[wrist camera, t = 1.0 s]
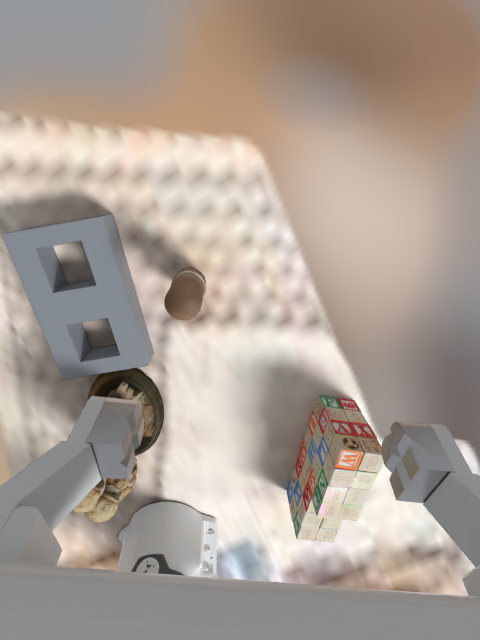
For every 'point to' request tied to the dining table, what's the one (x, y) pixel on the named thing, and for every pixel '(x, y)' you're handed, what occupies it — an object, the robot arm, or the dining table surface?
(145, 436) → the beige rough lumpy piece
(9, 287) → the dining table surface
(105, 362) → the two-hole board
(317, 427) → the stack of blocks
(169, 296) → the walnut peg
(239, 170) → the dining table surface
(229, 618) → the robot arm
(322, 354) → the dining table surface
